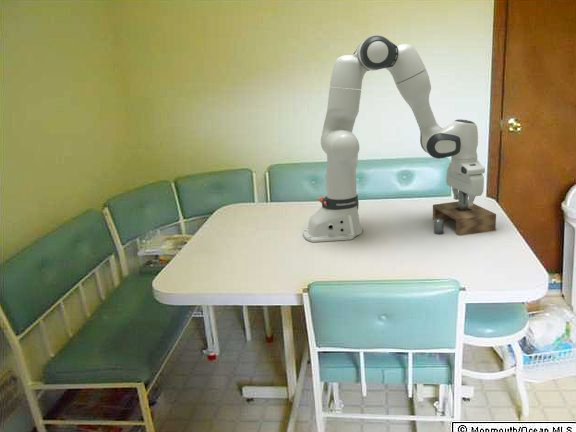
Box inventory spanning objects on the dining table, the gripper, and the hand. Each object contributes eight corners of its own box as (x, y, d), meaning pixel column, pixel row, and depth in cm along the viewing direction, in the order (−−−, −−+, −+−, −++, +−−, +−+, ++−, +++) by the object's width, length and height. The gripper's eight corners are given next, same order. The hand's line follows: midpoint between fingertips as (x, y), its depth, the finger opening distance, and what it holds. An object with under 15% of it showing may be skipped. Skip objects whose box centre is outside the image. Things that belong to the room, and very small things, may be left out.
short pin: (436, 235, 172) (436, 221, 171) (432, 232, 175) (432, 219, 174) (444, 233, 173) (445, 220, 171) (440, 231, 176) (440, 217, 174)
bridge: (458, 235, 170) (458, 219, 168) (432, 219, 189) (432, 204, 187) (495, 230, 172) (496, 214, 170) (466, 214, 191) (466, 200, 189)
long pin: (460, 226, 179) (461, 189, 175) (456, 223, 182) (457, 187, 178) (468, 225, 179) (469, 188, 175) (464, 222, 182) (465, 186, 178)
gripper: (442, 161, 183) (441, 196, 187) (470, 171, 164) (469, 210, 168) (457, 159, 184) (456, 194, 188) (487, 169, 165) (486, 208, 169)
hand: (463, 202), depth 178 cm, fingers open, 8 cm apart
